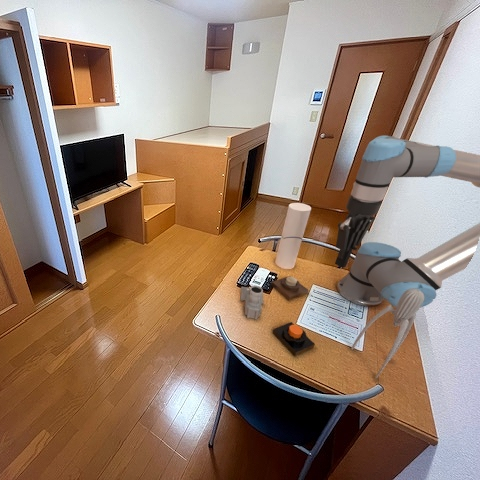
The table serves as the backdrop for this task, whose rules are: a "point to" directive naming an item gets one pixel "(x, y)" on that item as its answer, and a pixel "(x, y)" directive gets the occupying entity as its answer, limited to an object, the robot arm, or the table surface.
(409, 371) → the table surface
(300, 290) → the brown button base
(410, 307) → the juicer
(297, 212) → the container
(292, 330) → the orange button
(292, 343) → the dark button base
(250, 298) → the grey pipe fitting
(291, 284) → the cream button
